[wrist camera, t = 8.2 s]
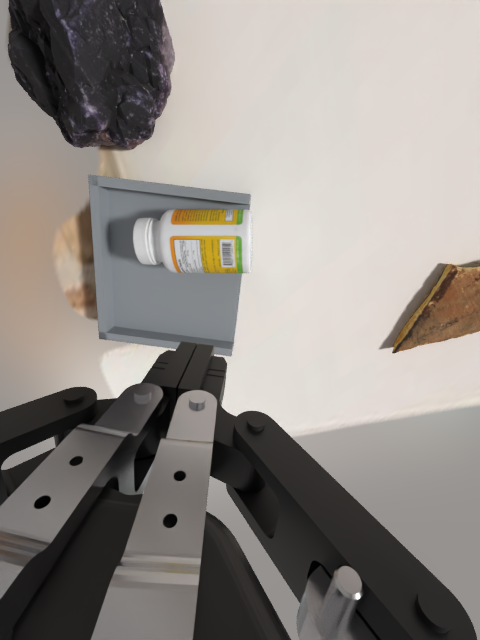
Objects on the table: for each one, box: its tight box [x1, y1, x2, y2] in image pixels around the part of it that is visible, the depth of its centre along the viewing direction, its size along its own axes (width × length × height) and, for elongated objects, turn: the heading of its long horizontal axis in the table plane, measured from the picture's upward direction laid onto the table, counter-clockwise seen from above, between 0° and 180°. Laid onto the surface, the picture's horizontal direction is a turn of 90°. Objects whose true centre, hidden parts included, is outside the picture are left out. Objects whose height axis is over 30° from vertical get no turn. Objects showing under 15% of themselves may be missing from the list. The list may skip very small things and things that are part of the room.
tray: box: [88, 175, 251, 356], centre depth 29 cm, size 16×14×2 cm
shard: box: [392, 264, 480, 353], centre depth 29 cm, size 11×8×2 cm
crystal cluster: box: [8, 0, 175, 149], centre depth 20 cm, size 13×14×10 cm
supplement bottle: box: [133, 209, 252, 273], centre depth 26 cm, size 5×5×10 cm
